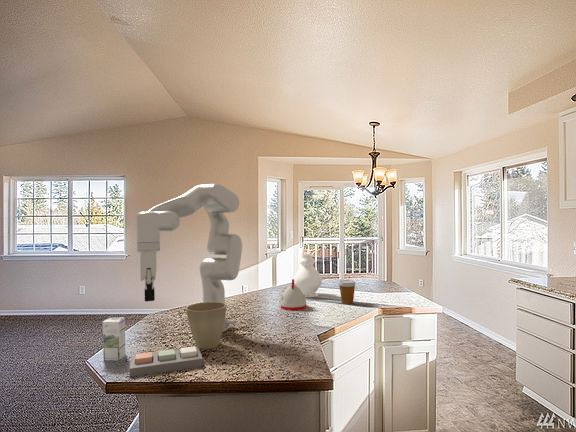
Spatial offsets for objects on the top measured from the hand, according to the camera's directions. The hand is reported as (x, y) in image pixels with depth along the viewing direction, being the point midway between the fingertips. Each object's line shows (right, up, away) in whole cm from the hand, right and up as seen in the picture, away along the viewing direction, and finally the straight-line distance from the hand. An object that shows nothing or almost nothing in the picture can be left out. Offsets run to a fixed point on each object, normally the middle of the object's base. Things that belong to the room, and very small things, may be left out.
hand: (149, 299), depth 134 cm
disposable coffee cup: (+81, -20, +81) cm, 116 cm away
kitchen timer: (+51, -20, +74) cm, 92 cm away
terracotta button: (+1, -19, -9) cm, 21 cm away
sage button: (+8, -18, -7) cm, 21 cm away
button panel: (+8, -21, -7) cm, 24 cm away
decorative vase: (+61, -20, +104) cm, 122 cm away
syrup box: (-12, -22, +1) cm, 25 cm away
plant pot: (+18, -21, +11) cm, 30 cm away
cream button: (+15, -18, -5) cm, 24 cm away
